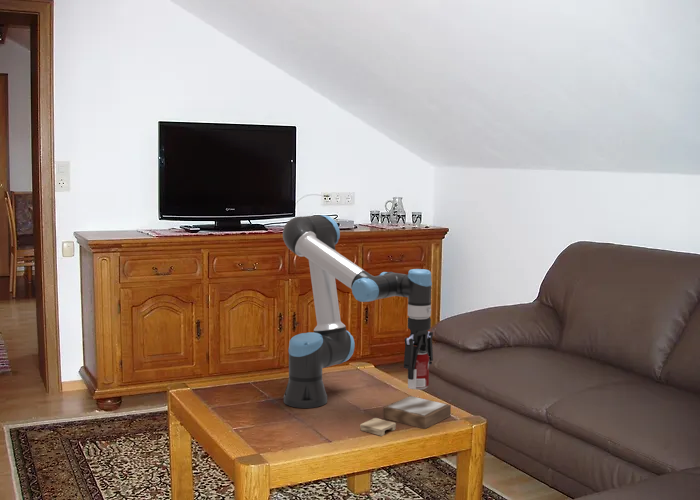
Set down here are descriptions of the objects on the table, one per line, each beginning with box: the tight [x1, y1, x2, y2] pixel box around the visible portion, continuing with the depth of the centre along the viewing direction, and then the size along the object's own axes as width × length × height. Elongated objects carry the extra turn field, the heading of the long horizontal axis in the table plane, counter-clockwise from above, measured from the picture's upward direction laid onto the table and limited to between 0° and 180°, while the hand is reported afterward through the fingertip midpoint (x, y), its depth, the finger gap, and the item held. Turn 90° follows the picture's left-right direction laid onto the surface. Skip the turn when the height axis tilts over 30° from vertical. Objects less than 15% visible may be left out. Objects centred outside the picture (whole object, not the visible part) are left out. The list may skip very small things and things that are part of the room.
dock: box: [382, 395, 452, 430], centre depth 253 cm, size 16×16×4 cm
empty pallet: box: [359, 417, 397, 437], centre depth 241 cm, size 8×8×2 cm
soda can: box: [415, 349, 430, 390], centre depth 251 cm, size 7×7×12 cm
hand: (418, 385), depth 252 cm, fingers closed on soda can, 7 cm apart
